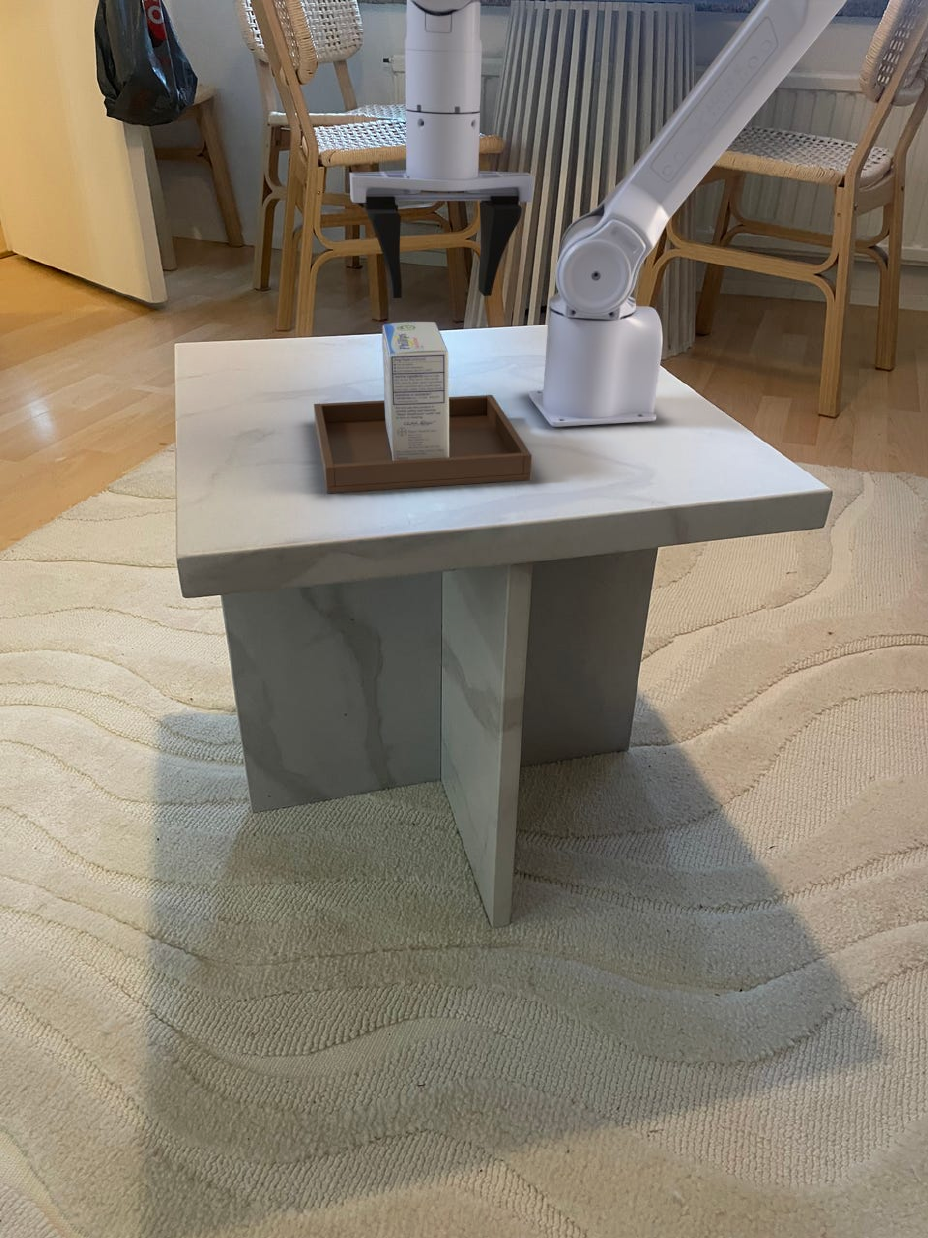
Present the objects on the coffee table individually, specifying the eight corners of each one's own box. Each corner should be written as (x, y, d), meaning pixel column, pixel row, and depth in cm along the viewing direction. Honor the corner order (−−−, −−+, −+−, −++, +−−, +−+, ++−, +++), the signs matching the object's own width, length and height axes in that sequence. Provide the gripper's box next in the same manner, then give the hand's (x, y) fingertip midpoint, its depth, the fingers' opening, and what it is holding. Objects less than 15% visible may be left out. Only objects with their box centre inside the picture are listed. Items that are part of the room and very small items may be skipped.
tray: (491, 416, 79) (492, 394, 78) (530, 479, 69) (532, 455, 68) (315, 426, 77) (313, 403, 76) (327, 493, 66) (325, 468, 65)
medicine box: (449, 464, 70) (451, 350, 65) (391, 466, 69) (388, 352, 64) (437, 425, 76) (438, 320, 71) (384, 427, 75) (380, 321, 71)
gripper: (521, 107, 74) (512, 280, 82) (343, 105, 72) (350, 284, 79) (545, 115, 69) (532, 300, 76) (351, 113, 66) (358, 305, 73)
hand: (440, 294), depth 77 cm, fingers open, 7 cm apart
